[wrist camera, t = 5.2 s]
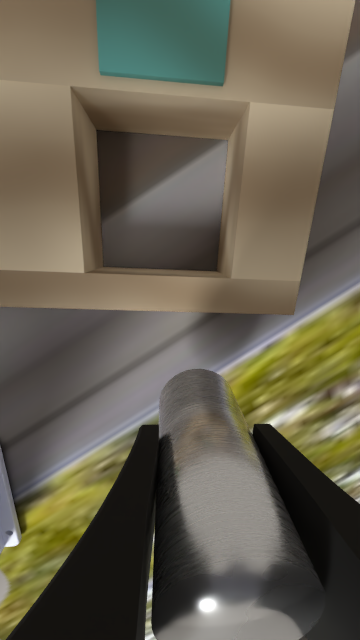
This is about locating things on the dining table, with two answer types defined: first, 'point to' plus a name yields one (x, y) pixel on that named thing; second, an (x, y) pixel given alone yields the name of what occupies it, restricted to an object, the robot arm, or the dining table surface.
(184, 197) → the dining table surface
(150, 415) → the dining table surface
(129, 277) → the socket block
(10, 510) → the robot arm
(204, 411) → the steel peg
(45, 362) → the dining table surface
